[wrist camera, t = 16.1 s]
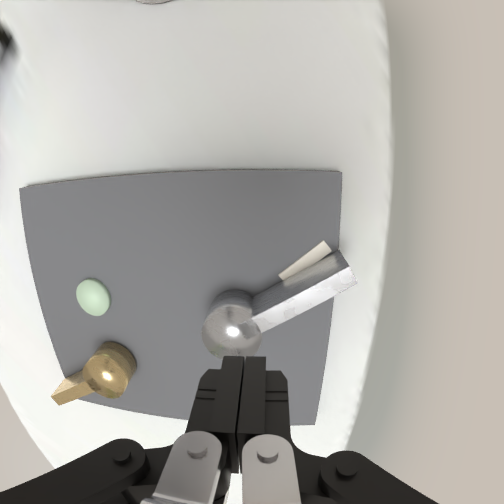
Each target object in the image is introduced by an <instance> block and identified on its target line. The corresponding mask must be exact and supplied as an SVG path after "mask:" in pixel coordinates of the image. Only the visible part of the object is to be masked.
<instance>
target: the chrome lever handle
mask: <svg viewBox="0 0 504 504" xmlns="http://www.w3.org/2000/svg"><path fill="white" fill-rule="evenodd" d="M357 283H358V282H357V280H356V278H355V276H354V274H353V272H352V270H351V268H350V266H349V265H348V263H347V262H346V260H345V259H344V257H343V255H342V254H341V252H340V251H339V250H338V251H337V252H335V253H333V254H331V255H329V256H328V257H326V258H324V259H322V260H320V261H319V262H317V263H315V264H313V265H311V266H310V267H308V268H306V269H304V270H302V271H300V272H298V273H297V274H295V275H293V276H291V277H289V278H287V279H286V280H284V281H282V282H280V283H278V284H276V285H274V286H272V287H271V288H269V289H267V290H265V291H263V292H261V293H259V294H257V295H255V296H252V295H251V294H249V293H247V292H244V291H240V290H230V291H226V292H223V293H221V294H220V295H218V296H217V297H216V298H215V299H214V300H213V302H212V304H211V306H210V309H209V312H208V314H207V317H206V319H205V322H204V325H203V327H202V332H201V337H202V341H203V343H204V345H205V347H206V348H207V350H208V351H209V352H210V353H211V354H213V355H214V356H216V357H218V358H220V359H222V360H223V357H224V356H244V357H245V358H246V356H253V355H254V354H255V353H256V352H257V351H258V349H259V348H260V345H261V342H262V332H264V331H267V330H269V329H271V328H273V327H275V326H277V325H279V324H281V323H283V322H285V321H287V320H289V319H291V318H293V317H295V316H297V315H299V314H301V313H303V312H305V311H307V310H309V309H311V308H312V307H314V306H316V305H318V304H320V303H322V302H324V301H326V300H328V299H330V298H331V297H333V296H335V295H337V294H339V293H341V292H343V291H344V290H346V289H348V288H350V287H352V286H354V285H355V284H357Z"/></svg>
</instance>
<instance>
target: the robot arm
mask: <svg viewBox="0 0 504 504" xmlns="http://www.w3.org/2000/svg"><path fill="white" fill-rule="evenodd" d="M136 1H137V2H141V3H147V4H156V3H163V2H167V1H171V0H136ZM239 464H240V472H241V474H242V496H243V504H438V503H437V502H435V501H433V500H431V499H430V498H428V497H426V496H425V495H423V494H421V493H420V492H418V491H417V490H415V489H413V488H411V487H410V486H408V485H407V484H405V483H404V482H402V481H400V480H399V479H397V478H396V477H394V476H393V475H391V474H390V473H388V472H387V471H385V470H384V469H382V468H381V467H379V466H378V465H376V464H375V463H373V462H372V461H370V460H369V459H367V458H366V457H365V456H363V455H361V454H360V453H357V452H354V451H339V452H336V453H333V454H331V455H330V456H328V457H327V458H325V457H320V456H315V455H310V454H307V453H305V452H303V451H301V450H300V449H298V448H297V447H296V446H295V445H294V443H293V441H292V439H291V434H290V415H289V397H288V381H287V379H286V377H285V376H284V374H283V373H282V371H281V370H266V356H246V358H245V357H244V356H224V357H223V361H222V366H221V369H208V370H207V371H206V372H205V373H204V374H203V376H202V377H201V378H200V381H199V385H198V388H197V392H196V395H195V399H194V403H193V406H192V410H191V414H190V417H189V421H188V425H187V428H186V431H185V434H183V435H181V436H180V437H179V438H178V439H177V440H176V441H175V442H174V444H172V445H170V446H167V447H162V448H153V449H143V447H142V446H141V445H140V444H139V443H137V442H136V441H134V440H131V439H116V440H113V441H111V442H109V443H107V444H105V445H103V446H101V447H99V448H97V449H95V450H93V451H91V452H89V453H88V454H86V455H84V456H82V457H80V458H77V459H75V460H73V461H71V462H69V463H67V464H65V465H63V466H61V467H59V468H57V469H54V470H52V471H50V472H48V473H46V474H43V475H41V476H39V477H37V478H34V479H32V480H30V481H27V482H25V483H23V484H20V485H18V486H15V487H13V488H10V489H8V490H5V491H3V492H0V504H226V502H227V498H228V493H229V486H230V477H231V473H237V474H239Z"/></svg>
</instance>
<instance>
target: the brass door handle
mask: <svg viewBox="0 0 504 504" xmlns="http://www.w3.org/2000/svg"><path fill="white" fill-rule="evenodd" d="M135 371H136V361H135V359H134V357H133V356H132V354H131V353H130V352H129V351H128V350H127V349H126V348H124V347H123V346H121V345H119V344H117V343H113V342H106V343H103V344H101V345H100V347H99V348H98V349H97V350H96V352H95V353H94V354H93V355H92V357H91V358H90V359H89V361H88V362H87V363H86V364H85V366H84V367H83V370H81V371H79V372H77V373H75V374H73V375H71V376H69V377H67V378H65V379H64V380H63V382H62V383H61V384H60V385H59V387H58V388H57V389H56V390H55V392H54V393H53V394H52V396H51V397H52V398H53V400H54V401H55V402H56V403H57V404H58V405H62V404H65V403H67V402H70V401H73V400H75V399H78V398H80V397H83V396H85V395H88V394H91V393H93V392H96V393H98V394H99V395H101V396H104V397H106V398H111V399H115V398H119V397H120V396H121V395H122V394H123V392H124V391H125V389H126V387H127V385H128V383H129V382H130V380H131V378H132V376H133V375H134V373H135Z"/></svg>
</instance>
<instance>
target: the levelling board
mask: <svg viewBox="0 0 504 504" xmlns="http://www.w3.org/2000/svg"><path fill="white" fill-rule="evenodd" d="M19 191H20V201H21V210H22V218H23V225H24V231H25V237H26V243H27V249H28V254H29V259H30V264H31V269H32V273H33V278H34V282H35V286H36V290H37V294H38V298H39V302H40V306H41V309H42V313H43V316H44V319H45V323H46V326H47V329H48V332H49V335H50V338H51V341H52V344H53V347H54V350H55V353H56V356H57V359H58V361H59V364H60V367H61V369H62V372H63V374H64V377H65V378H67V377H69V376H71V375H73V374H75V373H77V372H79V371H81V370H83V367H84V366H85V364H86V363H87V362H88V361H89V359H90V358H91V357H92V355H93V354H94V353H95V352H96V350H97V349H98V348H99V347H100V345H101V344H103V343H106V342H113V343H117V344H119V345H121V346H123V347H124V348H126V349H127V350H128V351H129V352H130V353H131V354H132V356H133V357H134V359H135V361H136V371H135V373H134V375H133V376H132V378H131V380H130V382H129V383H128V385H127V387H126V389H125V391H124V392H123V394H122V395H121V396H120V397H119V398H115V399H111V398H106V397H104V396H101V395H99V394H98V393H96V392H93V393H91V394H88V395H85V396H83V397H80V398H78V399H79V400H83V401H87V402H91V403H95V404H99V405H104V406H108V407H113V408H117V409H122V410H127V411H132V412H138V413H143V414H149V415H155V416H162V417H169V418H176V419H184V420H189V417H190V414H191V410H192V406H193V403H194V399H195V395H196V392H197V388H198V385H199V381H200V378H201V377H202V376H203V374H204V373H205V372H206V371H207V370H208V369H221V366H222V361H223V360H222V359H220V358H218V357H216V356H214V355H213V354H211V353H210V352H209V351H208V350H207V348H206V347H205V345H204V343H203V341H202V337H201V332H202V327H203V325H204V322H205V319H206V317H207V314H208V312H209V309H210V306H211V304H212V302H213V300H214V299H215V298H216V297H217V296H218V295H220V294H221V293H223V292H226V291H230V290H240V291H244V292H247V293H249V294H251V295H252V296H255V295H257V294H259V293H261V292H263V291H265V290H267V289H269V288H271V287H272V286H274V285H276V284H278V283H280V282H282V281H284V280H286V279H287V278H289V277H291V276H293V275H295V274H297V273H298V272H300V271H302V270H304V269H306V268H308V267H310V266H311V265H313V264H315V263H317V262H319V261H320V260H322V259H324V258H326V257H328V256H329V255H331V254H333V253H335V252H337V251H338V245H339V230H340V213H341V191H342V172H339V171H316V170H265V169H251V170H200V171H177V172H159V173H144V174H130V175H118V176H107V177H97V178H88V179H79V180H71V181H63V182H55V183H48V184H41V185H34V186H27V187H23V188H19ZM333 300H334V296H333V297H331V298H330V299H328V300H326V301H324V302H322V303H320V304H318V305H316V306H314V307H312V308H311V309H309V310H307V311H305V312H303V313H301V314H299V315H297V316H295V317H293V318H291V319H289V320H287V321H285V322H283V323H281V324H279V325H277V326H275V327H273V328H271V329H269V330H267V331H264V332H262V342H261V345H260V348H259V349H258V351H257V352H256V353H255V354H254V355H253V356H266V370H281V371H282V373H283V374H284V376H285V377H286V379H287V381H288V397H289V415H290V425H315V421H316V416H317V411H318V405H319V400H320V394H321V388H322V382H323V376H324V369H325V363H326V356H327V349H328V342H329V334H330V326H331V318H332V309H333Z"/></svg>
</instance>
